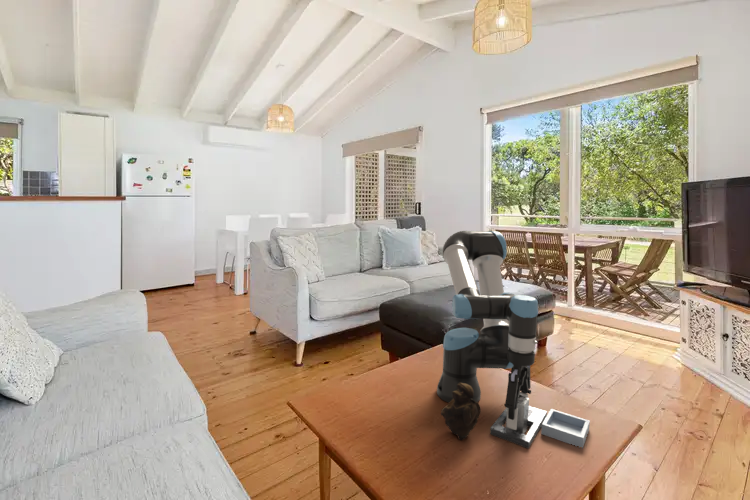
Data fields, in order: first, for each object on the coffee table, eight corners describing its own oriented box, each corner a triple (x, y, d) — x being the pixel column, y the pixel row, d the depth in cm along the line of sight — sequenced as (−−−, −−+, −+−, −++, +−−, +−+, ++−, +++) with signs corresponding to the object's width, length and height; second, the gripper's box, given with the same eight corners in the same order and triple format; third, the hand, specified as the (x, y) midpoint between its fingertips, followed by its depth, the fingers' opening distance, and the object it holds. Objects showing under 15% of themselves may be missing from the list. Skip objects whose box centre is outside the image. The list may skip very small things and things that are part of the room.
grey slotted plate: (490, 434, 114) (490, 427, 114) (511, 406, 130) (512, 400, 130) (528, 448, 108) (528, 441, 107) (546, 417, 124) (546, 411, 123)
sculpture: (428, 420, 115) (450, 374, 116) (454, 431, 119) (475, 386, 120) (448, 440, 105) (472, 389, 106) (476, 450, 109) (498, 401, 111)
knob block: (505, 430, 116) (507, 397, 115) (510, 423, 120) (512, 391, 119) (522, 437, 113) (524, 402, 112) (527, 429, 117) (529, 396, 116)
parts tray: (541, 433, 115) (541, 424, 114) (550, 417, 123) (550, 408, 123) (582, 448, 108) (583, 438, 108) (589, 430, 117) (589, 420, 116)
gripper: (523, 364, 102) (518, 443, 105) (544, 341, 120) (539, 409, 123) (495, 357, 107) (491, 432, 110) (519, 335, 124) (515, 401, 127)
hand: (516, 420), depth 116 cm, fingers open, 9 cm apart
